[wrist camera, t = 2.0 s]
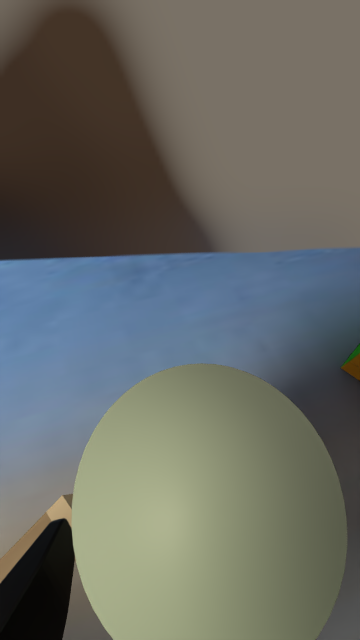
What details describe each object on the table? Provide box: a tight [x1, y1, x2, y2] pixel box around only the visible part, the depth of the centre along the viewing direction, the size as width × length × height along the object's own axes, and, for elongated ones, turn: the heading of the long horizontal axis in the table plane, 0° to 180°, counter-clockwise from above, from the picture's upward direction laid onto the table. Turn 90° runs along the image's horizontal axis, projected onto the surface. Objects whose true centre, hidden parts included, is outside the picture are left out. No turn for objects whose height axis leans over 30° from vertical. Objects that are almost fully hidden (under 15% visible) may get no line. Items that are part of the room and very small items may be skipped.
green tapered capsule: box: [71, 364, 347, 640], centre depth 10 cm, size 4×4×13 cm
